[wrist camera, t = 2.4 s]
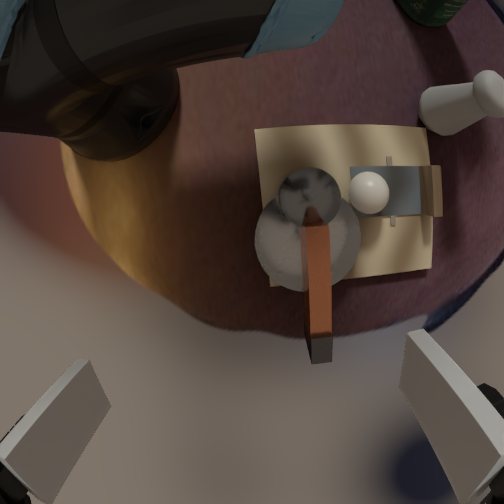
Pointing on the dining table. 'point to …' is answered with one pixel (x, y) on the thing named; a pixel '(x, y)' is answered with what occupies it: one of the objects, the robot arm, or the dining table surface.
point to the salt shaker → (462, 103)
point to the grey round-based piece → (309, 247)
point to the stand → (357, 161)
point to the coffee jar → (431, 10)
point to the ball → (368, 192)
